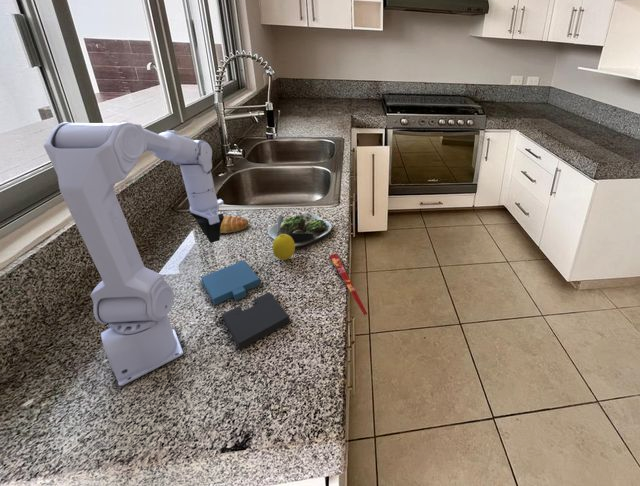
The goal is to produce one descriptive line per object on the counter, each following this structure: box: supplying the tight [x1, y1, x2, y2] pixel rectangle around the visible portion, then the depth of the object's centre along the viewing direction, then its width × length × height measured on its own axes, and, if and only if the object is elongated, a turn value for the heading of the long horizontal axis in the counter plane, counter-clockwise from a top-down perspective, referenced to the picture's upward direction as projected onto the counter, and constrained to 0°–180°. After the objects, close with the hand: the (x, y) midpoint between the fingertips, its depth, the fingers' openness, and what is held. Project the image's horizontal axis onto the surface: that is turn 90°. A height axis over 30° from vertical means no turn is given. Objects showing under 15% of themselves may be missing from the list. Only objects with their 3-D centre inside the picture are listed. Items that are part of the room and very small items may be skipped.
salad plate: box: [267, 212, 333, 250], centre depth 104 cm, size 19×18×5 cm
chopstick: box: [329, 253, 368, 316], centre depth 84 cm, size 2×24×1 cm, turn 30°
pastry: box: [220, 215, 249, 235], centre depth 105 cm, size 9×7×4 cm
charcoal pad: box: [221, 291, 291, 351], centre depth 72 cm, size 10×10×2 cm
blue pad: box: [200, 259, 261, 306], centre depth 82 cm, size 10×12×2 cm
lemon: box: [272, 234, 296, 261], centre depth 91 cm, size 6×6×8 cm
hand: (212, 237), depth 87 cm, fingers open, 4 cm apart
